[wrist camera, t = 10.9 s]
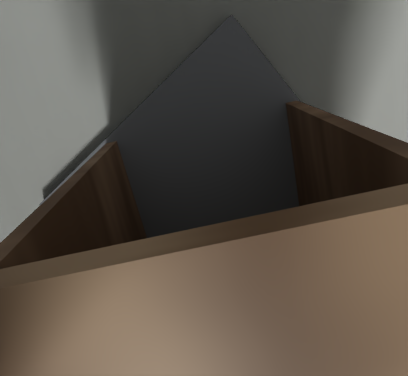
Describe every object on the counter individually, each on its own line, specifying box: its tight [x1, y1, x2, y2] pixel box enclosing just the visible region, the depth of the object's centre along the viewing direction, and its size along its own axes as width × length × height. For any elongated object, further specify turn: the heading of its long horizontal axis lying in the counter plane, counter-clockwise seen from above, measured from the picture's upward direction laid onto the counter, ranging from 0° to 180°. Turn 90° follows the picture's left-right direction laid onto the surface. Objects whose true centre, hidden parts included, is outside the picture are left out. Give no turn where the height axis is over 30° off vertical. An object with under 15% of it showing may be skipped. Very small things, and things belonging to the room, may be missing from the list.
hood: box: [0, 101, 408, 376], centre depth 14 cm, size 11×11×13 cm
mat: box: [39, 14, 301, 238], centre depth 21 cm, size 15×15×1 cm
